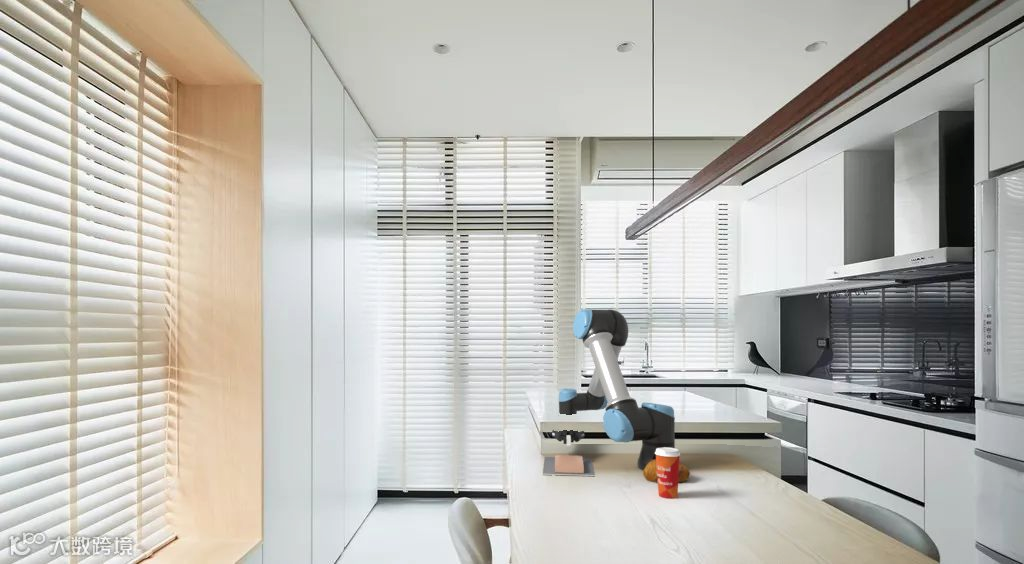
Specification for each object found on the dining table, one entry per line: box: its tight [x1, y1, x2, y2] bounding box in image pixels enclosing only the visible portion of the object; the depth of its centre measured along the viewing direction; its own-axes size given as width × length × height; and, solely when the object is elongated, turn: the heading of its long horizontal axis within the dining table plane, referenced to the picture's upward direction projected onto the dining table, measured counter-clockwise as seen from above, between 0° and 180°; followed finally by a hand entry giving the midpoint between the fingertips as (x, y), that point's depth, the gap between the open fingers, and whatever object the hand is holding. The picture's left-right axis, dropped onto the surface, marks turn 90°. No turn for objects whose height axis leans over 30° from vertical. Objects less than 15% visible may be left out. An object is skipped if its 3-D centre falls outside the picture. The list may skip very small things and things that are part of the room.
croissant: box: [642, 459, 691, 483], centre depth 202 cm, size 14×16×8 cm
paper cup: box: [655, 447, 681, 500], centre depth 182 cm, size 8×8×14 cm
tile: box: [554, 454, 584, 473], centre depth 213 cm, size 3×10×16 cm
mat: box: [542, 456, 596, 478], centre depth 217 cm, size 26×18×1 cm
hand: (568, 442), depth 217 cm, fingers closed
